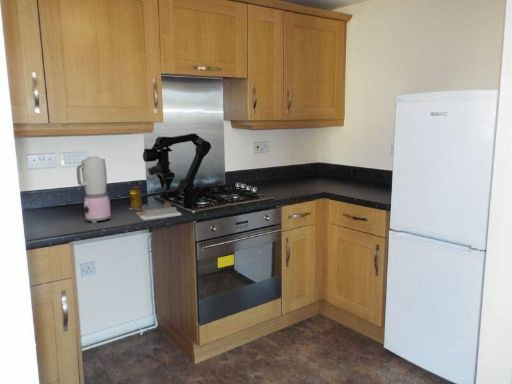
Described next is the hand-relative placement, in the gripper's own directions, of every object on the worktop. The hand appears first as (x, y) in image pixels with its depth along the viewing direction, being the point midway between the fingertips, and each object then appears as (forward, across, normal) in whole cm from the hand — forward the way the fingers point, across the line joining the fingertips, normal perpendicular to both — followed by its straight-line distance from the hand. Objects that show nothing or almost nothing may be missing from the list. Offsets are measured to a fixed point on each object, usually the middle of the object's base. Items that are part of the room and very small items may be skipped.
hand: (165, 189), depth 232 cm
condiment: (+12, -15, -12) cm, 23 cm away
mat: (+12, +10, -6) cm, 17 cm away
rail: (+11, +10, -6) cm, 17 cm away
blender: (+12, +3, -37) cm, 39 cm away
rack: (+12, +3, -6) cm, 14 cm away
